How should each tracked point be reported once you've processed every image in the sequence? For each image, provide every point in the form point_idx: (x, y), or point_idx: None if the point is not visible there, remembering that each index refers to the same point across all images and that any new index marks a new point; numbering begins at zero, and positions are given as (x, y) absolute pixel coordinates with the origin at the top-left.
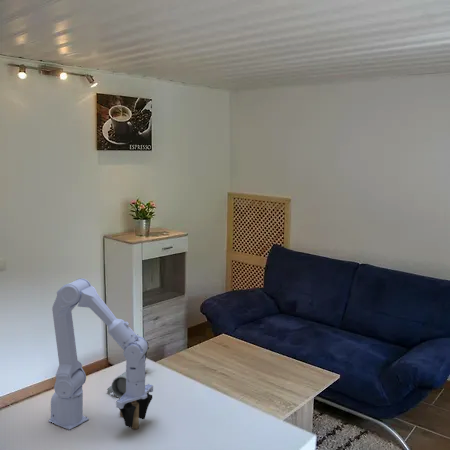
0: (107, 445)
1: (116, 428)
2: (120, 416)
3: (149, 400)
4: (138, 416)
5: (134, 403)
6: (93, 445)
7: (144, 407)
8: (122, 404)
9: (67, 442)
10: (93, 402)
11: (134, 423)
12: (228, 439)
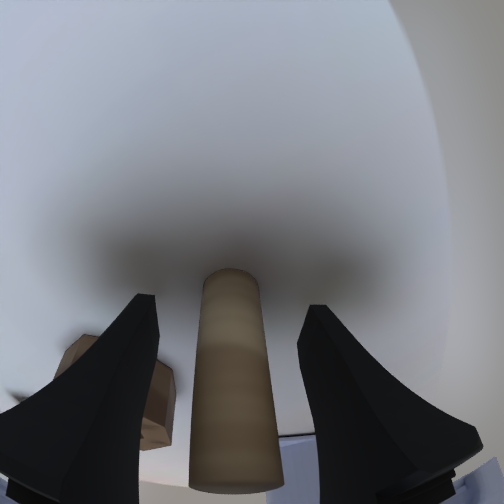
0: (450, 294)
1: (290, 360)
2: (175, 395)
3: (37, 438)
4: (224, 345)
5: (233, 490)
6: (446, 334)
7: (118, 388)
8: (499, 490)
9: (423, 390)
10: (163, 456)
11: (261, 315)
12: None
